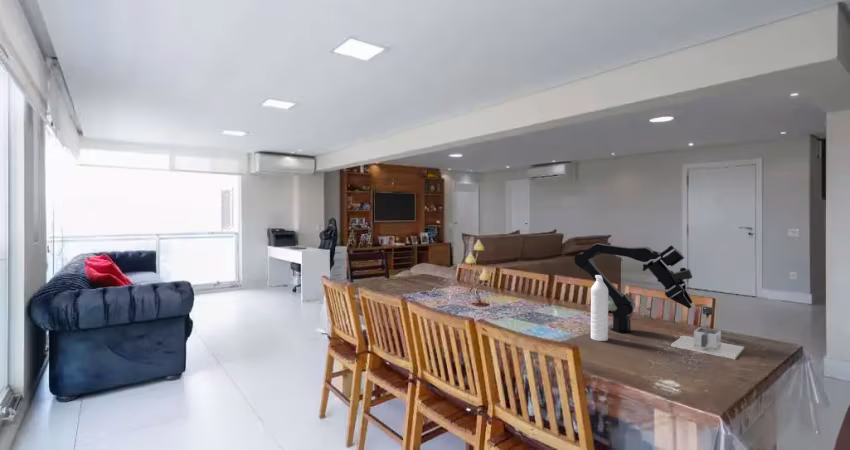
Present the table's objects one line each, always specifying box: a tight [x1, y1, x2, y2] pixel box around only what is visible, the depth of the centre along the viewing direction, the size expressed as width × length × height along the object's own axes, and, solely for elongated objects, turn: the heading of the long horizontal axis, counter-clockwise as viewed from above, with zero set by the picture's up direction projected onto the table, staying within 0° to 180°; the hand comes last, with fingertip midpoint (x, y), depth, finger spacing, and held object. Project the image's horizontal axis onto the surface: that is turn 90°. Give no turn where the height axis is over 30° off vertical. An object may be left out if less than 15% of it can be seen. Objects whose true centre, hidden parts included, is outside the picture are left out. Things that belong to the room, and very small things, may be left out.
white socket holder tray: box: [670, 326, 745, 360], centre depth 160 cm, size 20×15×6 cm
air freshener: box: [608, 295, 617, 312], centre depth 218 cm, size 11×8×10 cm
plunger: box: [701, 306, 714, 334], centre depth 160 cm, size 5×5×11 cm
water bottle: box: [590, 275, 609, 342], centre depth 173 cm, size 9×6×25 cm
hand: (691, 305), depth 168 cm, fingers open, 9 cm apart
